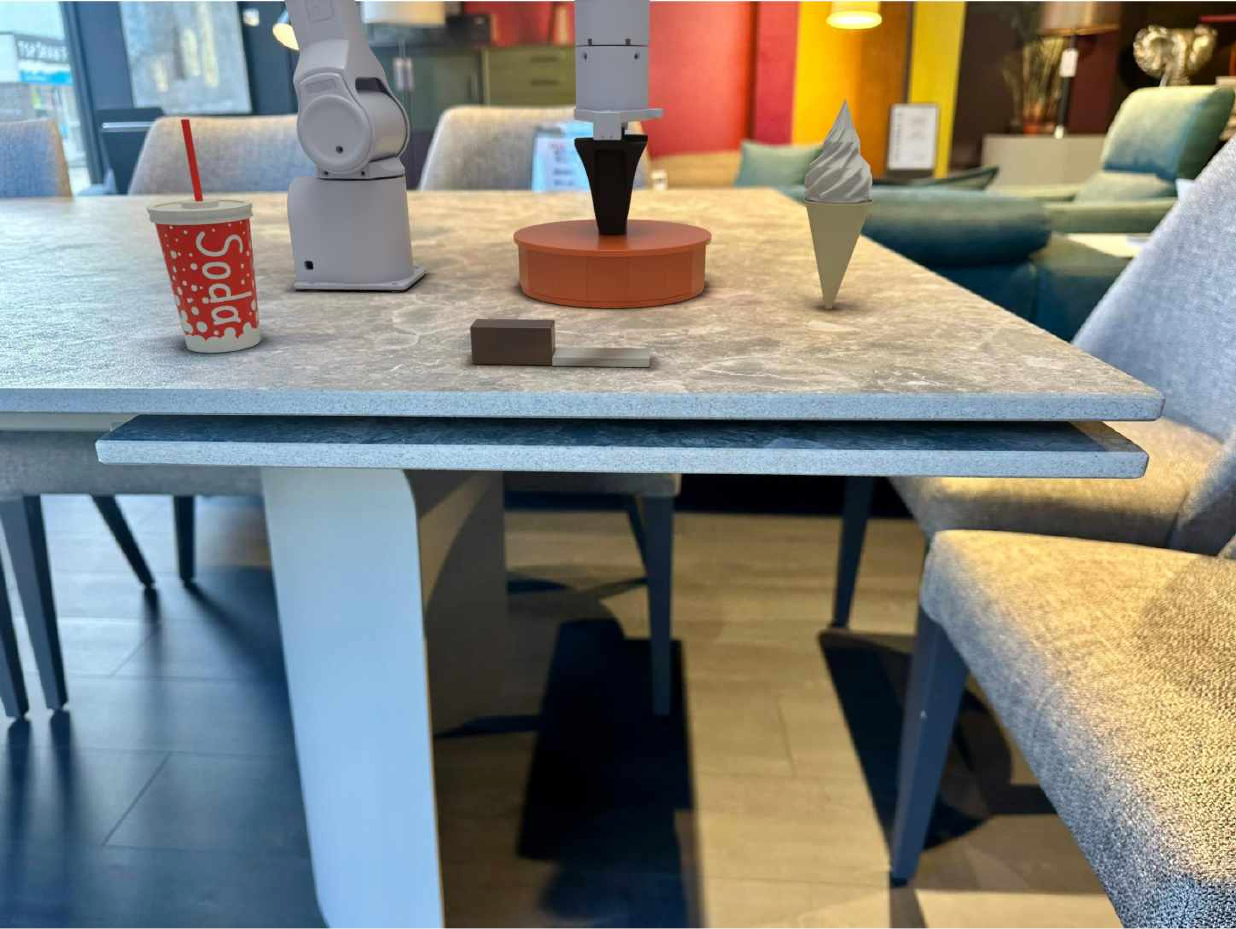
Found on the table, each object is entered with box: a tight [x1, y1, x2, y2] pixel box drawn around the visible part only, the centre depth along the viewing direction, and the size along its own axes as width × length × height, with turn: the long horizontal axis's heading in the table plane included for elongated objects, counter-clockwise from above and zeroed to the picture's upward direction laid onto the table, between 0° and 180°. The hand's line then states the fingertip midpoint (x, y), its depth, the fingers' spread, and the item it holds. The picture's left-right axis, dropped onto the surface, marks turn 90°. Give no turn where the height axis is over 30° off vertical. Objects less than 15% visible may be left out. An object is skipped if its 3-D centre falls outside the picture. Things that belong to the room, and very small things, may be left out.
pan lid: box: [512, 218, 713, 257], centre depth 75 cm, size 16×16×5 cm
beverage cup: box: [146, 118, 262, 354], centre depth 58 cm, size 6×6×14 cm
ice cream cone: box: [803, 98, 874, 310], centre depth 67 cm, size 5×5×15 cm
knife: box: [469, 318, 651, 368], centre depth 56 cm, size 11×2×2 cm, turn 87°
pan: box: [517, 245, 707, 309], centre depth 76 cm, size 15×15×4 cm
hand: (612, 228), depth 75 cm, fingers closed on pan lid, 2 cm apart
